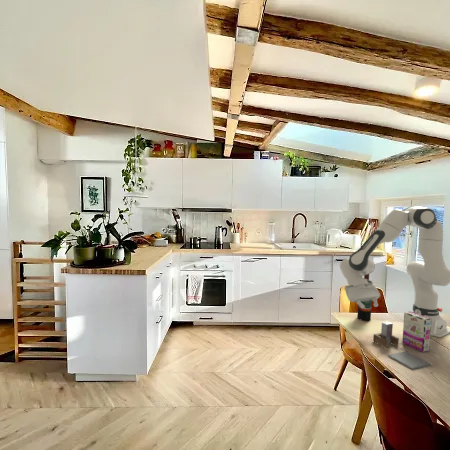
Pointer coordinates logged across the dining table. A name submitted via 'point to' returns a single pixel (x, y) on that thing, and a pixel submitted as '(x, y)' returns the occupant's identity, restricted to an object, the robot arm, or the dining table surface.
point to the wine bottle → (365, 312)
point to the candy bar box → (416, 331)
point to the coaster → (409, 360)
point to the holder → (384, 340)
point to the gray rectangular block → (387, 331)
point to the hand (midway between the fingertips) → (370, 307)
